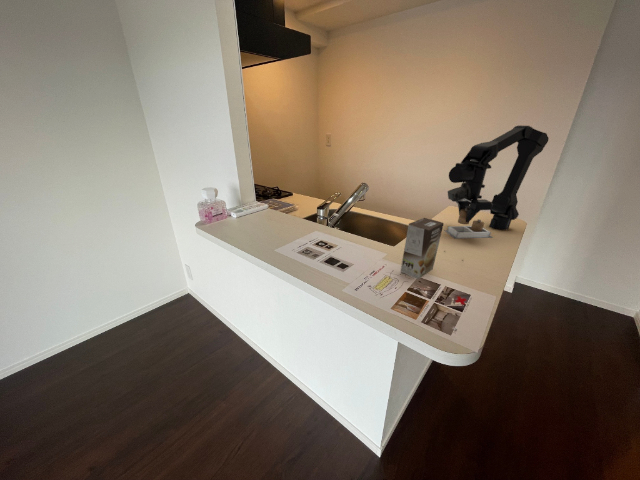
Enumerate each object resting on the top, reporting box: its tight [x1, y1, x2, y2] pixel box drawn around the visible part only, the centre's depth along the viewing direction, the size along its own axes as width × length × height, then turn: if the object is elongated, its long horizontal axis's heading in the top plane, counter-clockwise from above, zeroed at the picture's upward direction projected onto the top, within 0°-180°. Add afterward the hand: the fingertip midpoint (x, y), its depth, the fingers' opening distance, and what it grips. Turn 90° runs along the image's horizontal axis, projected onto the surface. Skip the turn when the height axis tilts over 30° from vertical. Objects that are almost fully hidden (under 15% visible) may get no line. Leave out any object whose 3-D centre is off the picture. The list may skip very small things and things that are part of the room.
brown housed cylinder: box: [471, 219, 485, 232], centre depth 104 cm, size 4×4×6 cm
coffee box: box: [400, 217, 444, 280], centre depth 77 cm, size 9×6×16 cm
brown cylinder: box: [457, 208, 470, 225], centre depth 101 cm, size 4×4×6 cm
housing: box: [443, 225, 494, 240], centre depth 105 cm, size 16×8×3 cm, turn 94°
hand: (464, 220), depth 102 cm, fingers closed on brown cylinder, 4 cm apart
